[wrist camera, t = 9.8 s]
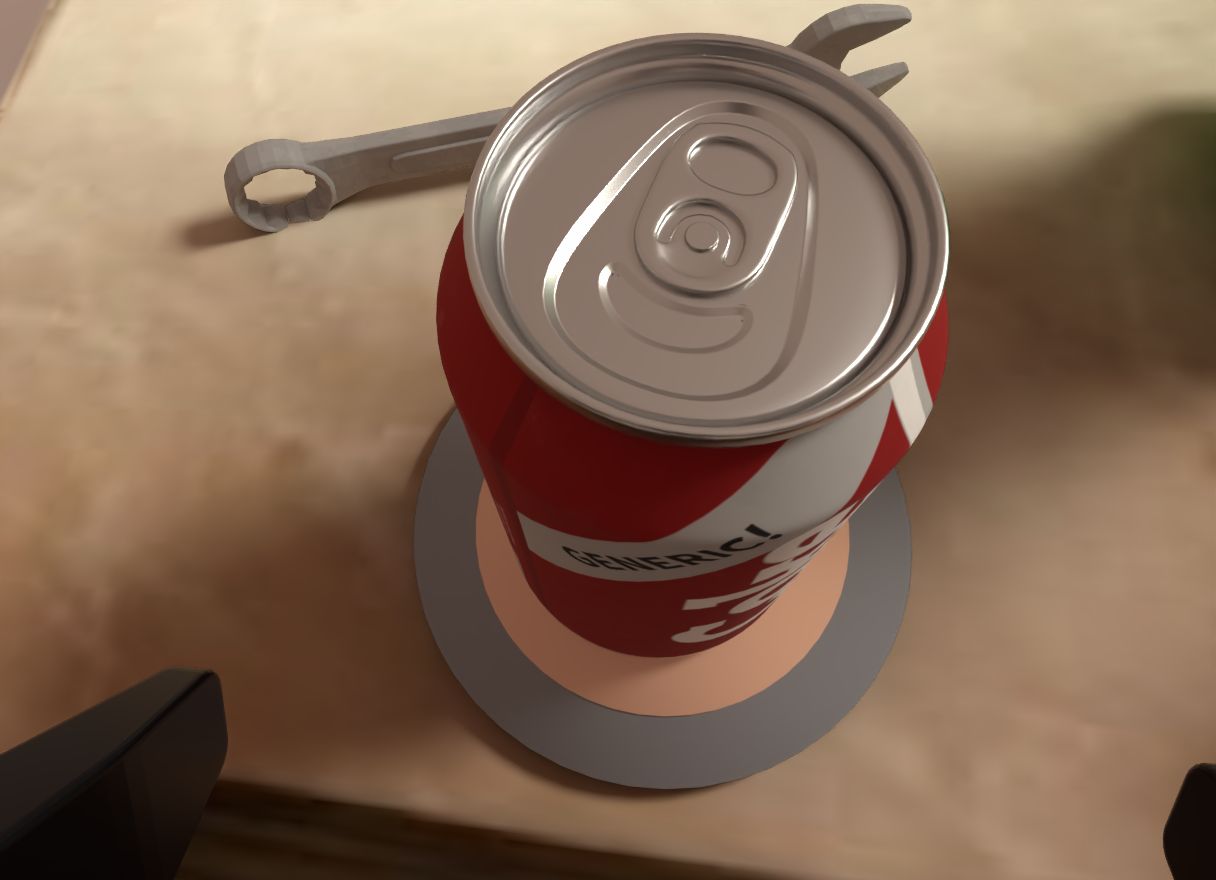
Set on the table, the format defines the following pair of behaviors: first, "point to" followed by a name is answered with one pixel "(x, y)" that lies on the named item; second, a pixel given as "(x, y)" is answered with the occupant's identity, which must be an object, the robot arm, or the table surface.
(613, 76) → the soda can
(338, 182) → the combination wrench
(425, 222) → the table surface
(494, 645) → the coaster
